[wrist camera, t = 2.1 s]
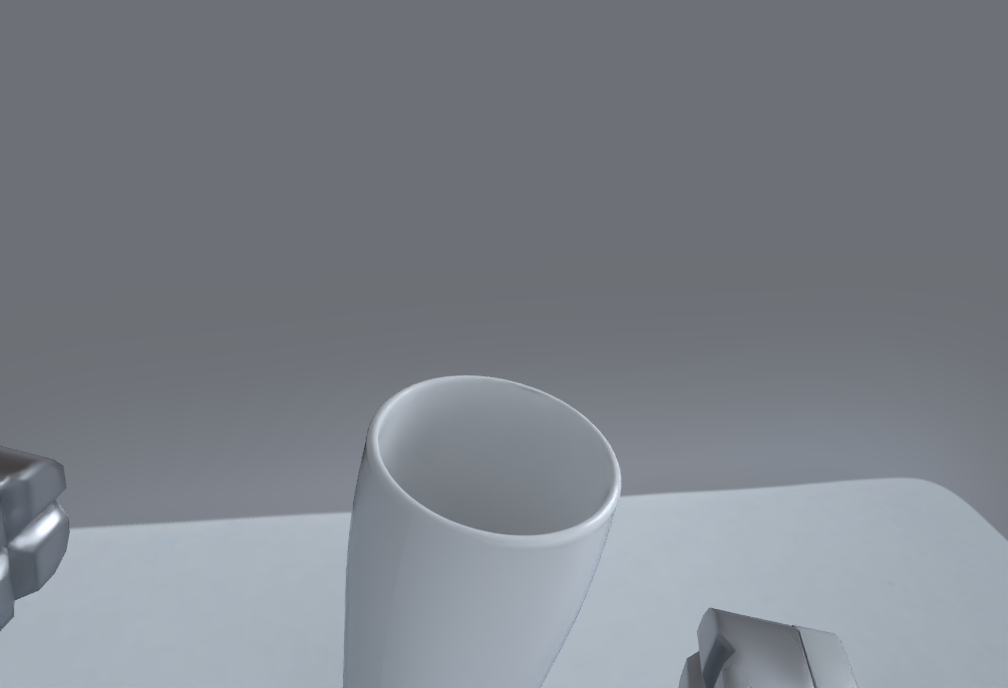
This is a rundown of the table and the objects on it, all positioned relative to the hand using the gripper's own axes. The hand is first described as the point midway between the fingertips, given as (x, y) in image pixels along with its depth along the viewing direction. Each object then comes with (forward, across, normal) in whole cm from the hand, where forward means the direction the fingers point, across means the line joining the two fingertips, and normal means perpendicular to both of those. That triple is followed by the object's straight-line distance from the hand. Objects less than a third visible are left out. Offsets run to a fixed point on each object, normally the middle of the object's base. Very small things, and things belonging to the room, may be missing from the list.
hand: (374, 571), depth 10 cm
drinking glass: (+11, 0, +19) cm, 22 cm away
